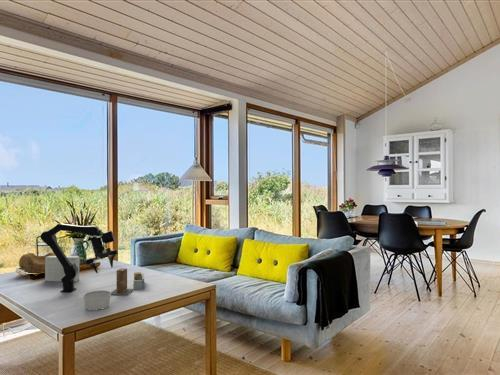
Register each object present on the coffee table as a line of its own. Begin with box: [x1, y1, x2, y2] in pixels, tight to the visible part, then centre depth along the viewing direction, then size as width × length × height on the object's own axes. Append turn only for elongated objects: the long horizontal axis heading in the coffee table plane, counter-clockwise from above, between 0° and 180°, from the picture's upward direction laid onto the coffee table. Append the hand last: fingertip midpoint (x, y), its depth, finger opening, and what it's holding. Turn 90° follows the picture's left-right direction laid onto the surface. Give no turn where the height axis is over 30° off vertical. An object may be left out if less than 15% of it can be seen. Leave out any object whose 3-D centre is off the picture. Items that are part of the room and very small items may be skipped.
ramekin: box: [83, 289, 112, 311], centre depth 188 cm, size 13×13×7 cm
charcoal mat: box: [110, 288, 136, 296], centre depth 213 cm, size 11×11×1 cm
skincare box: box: [44, 255, 80, 283], centre depth 237 cm, size 21×5×16 cm, turn 85°
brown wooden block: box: [116, 267, 128, 293], centre depth 213 cm, size 4×6×13 cm
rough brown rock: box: [18, 251, 56, 273], centre depth 252 cm, size 23×16×15 cm
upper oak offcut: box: [133, 271, 143, 281], centre depth 227 cm, size 4×4×4 cm
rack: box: [133, 272, 145, 290], centre depth 227 cm, size 6×14×6 cm, turn 16°
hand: (104, 270), depth 220 cm, fingers open, 9 cm apart
